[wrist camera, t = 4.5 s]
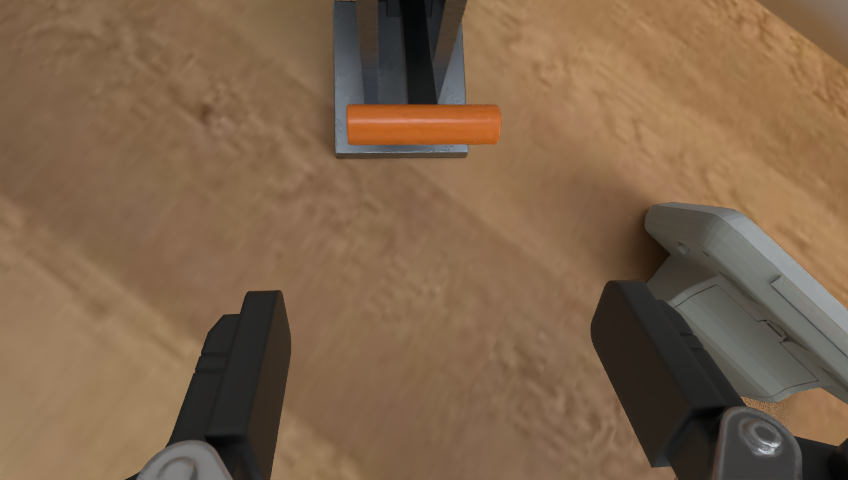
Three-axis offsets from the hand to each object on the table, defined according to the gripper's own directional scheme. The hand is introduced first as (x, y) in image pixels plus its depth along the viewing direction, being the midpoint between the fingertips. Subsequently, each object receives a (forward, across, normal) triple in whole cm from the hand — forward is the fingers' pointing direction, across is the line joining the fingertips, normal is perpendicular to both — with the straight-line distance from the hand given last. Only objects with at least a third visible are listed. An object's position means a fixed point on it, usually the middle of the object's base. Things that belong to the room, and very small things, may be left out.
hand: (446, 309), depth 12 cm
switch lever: (+13, 0, -2) cm, 14 cm away
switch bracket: (+25, 0, +3) cm, 25 cm away
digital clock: (+14, -22, +15) cm, 30 cm away
